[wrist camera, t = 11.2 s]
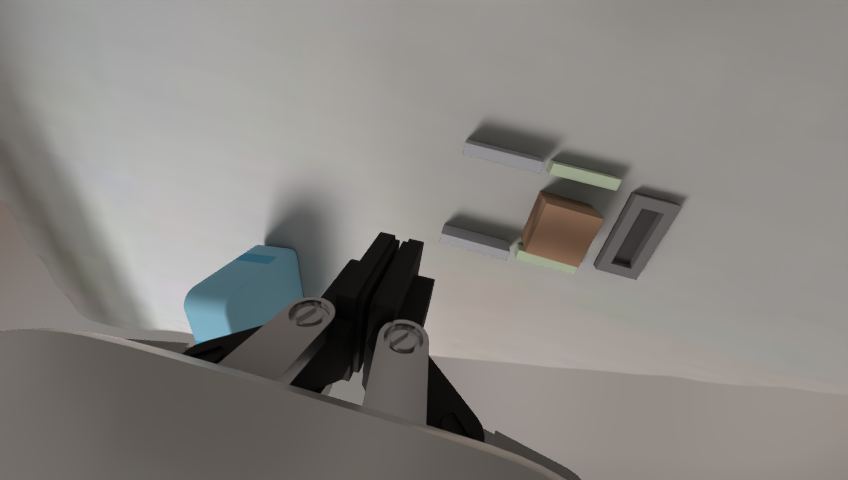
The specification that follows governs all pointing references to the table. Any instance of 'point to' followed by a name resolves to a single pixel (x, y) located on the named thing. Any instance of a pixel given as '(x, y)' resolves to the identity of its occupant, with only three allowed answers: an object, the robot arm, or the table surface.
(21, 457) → the robot arm
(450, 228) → the walled lane
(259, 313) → the data package
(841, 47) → the table surface
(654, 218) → the tray
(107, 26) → the table surface
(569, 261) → the walnut block
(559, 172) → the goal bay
